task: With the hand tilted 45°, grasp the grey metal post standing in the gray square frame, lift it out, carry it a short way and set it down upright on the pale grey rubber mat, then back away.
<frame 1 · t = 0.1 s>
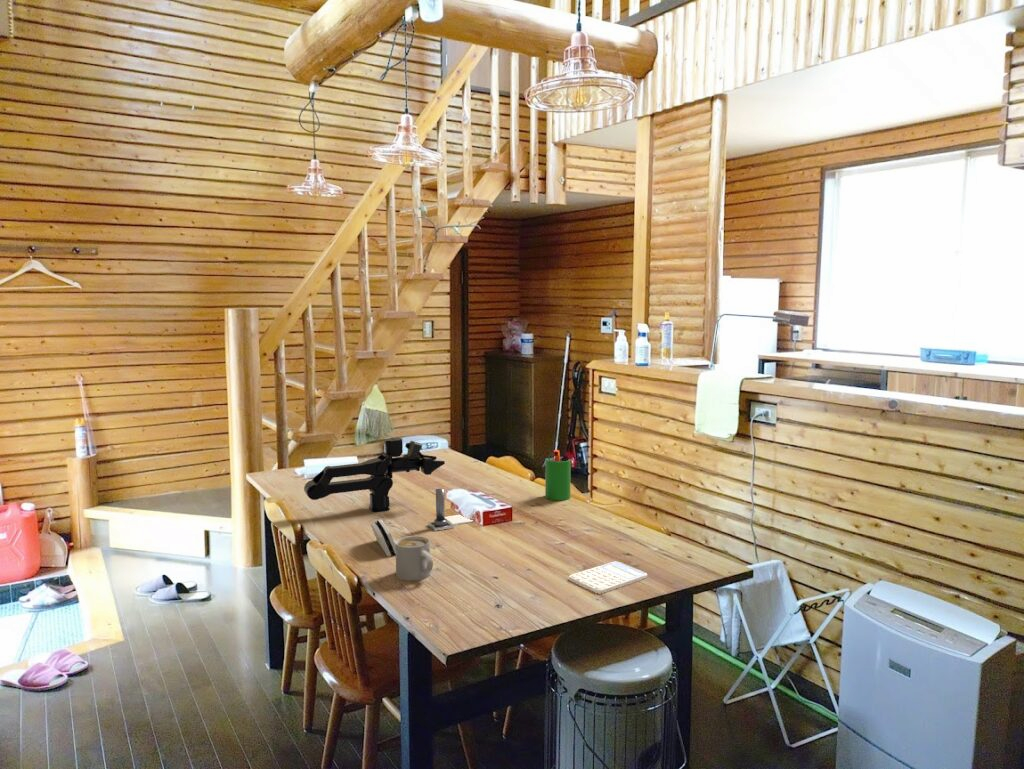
hand: (440, 460, 281), 17 cm above the table, tool horizontal, fingers open, 9 cm apart
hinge: (385, 548, 230), on the table
gray square frame: (440, 526, 251), on the table
coffee mug: (415, 576, 206), on the table
calculator: (608, 580, 204), on the table
grey metal post: (440, 508, 250), in the gray square frame
mat: (459, 519, 258), on the table
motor: (557, 498, 286), on the table
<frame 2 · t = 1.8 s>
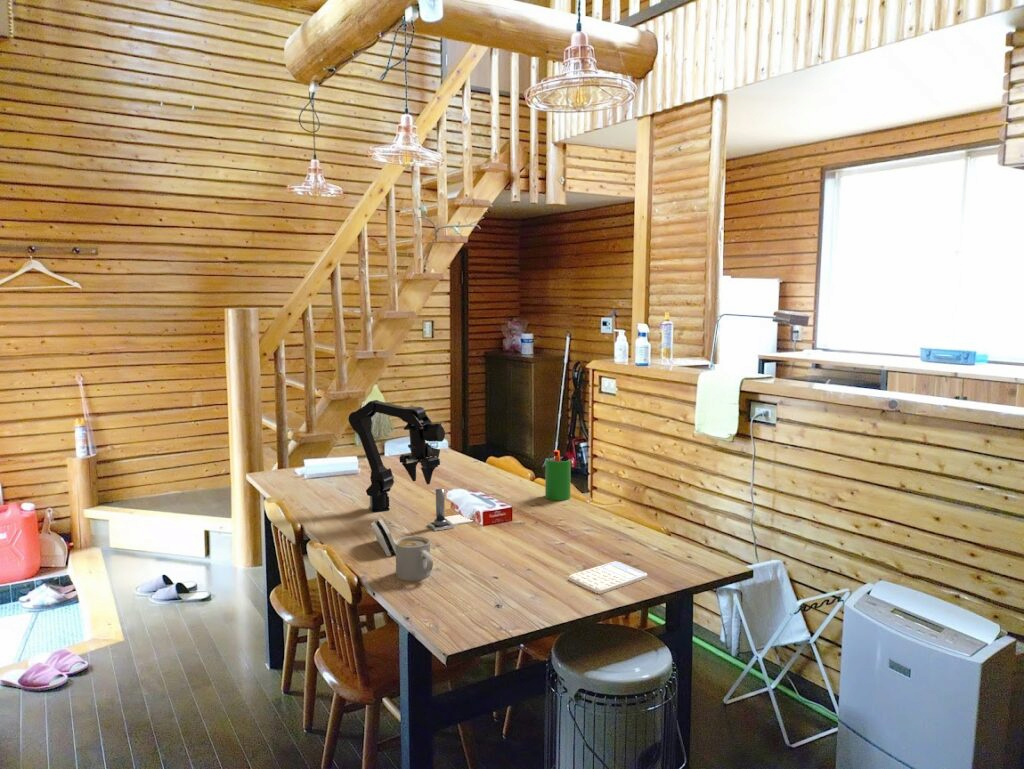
hand: (421, 482, 262), 12 cm above the table, tool pointing down, fingers open, 9 cm apart
nothing on the table moved.
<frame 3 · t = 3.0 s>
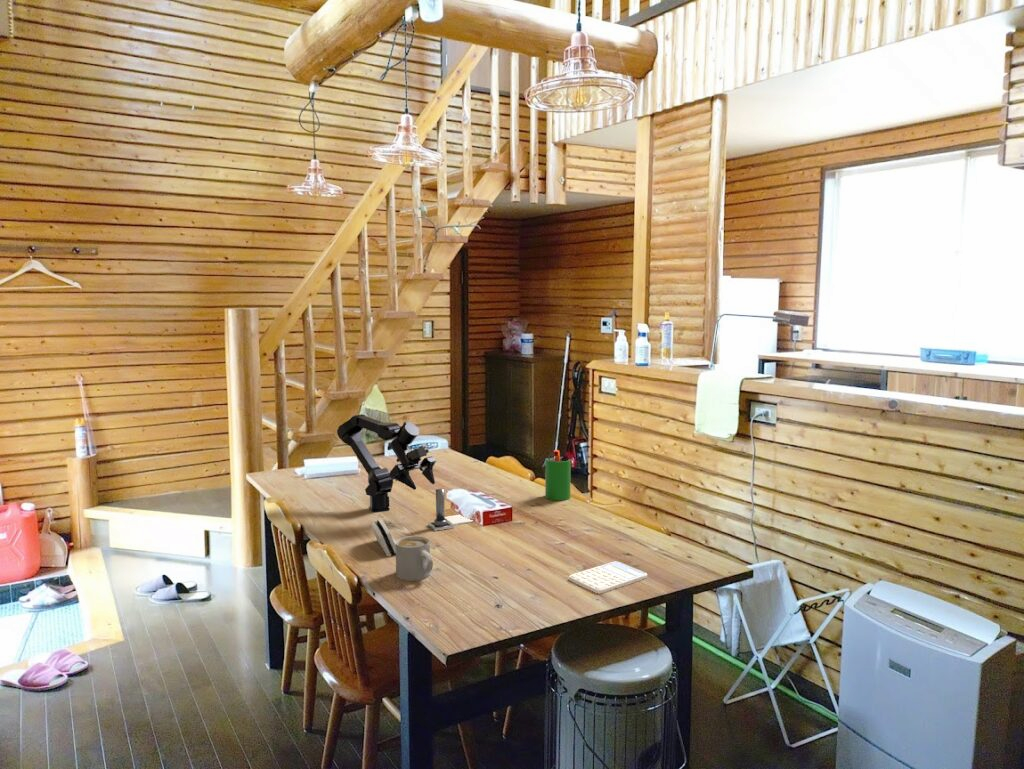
hand: (424, 486, 254), 13 cm above the table, tool tilted 45°, fingers open, 9 cm apart
nothing on the table moved.
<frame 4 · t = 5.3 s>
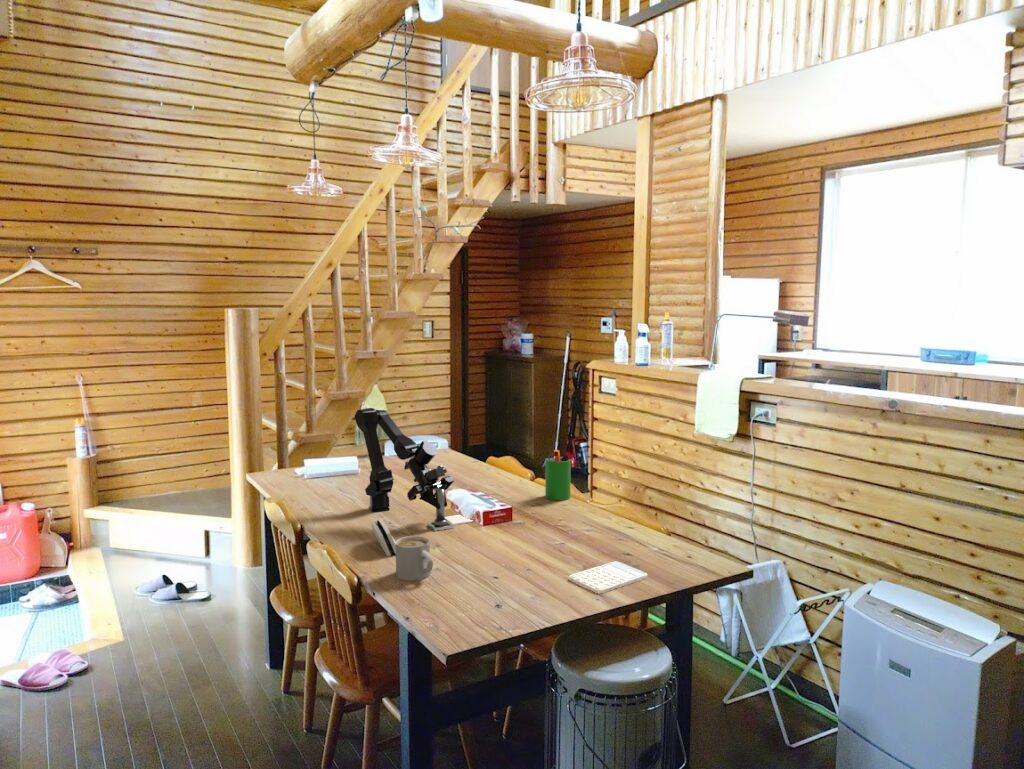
hand: (443, 507, 249), 7 cm above the table, tool tilted 45°, fingers closed on grey metal post, 3 cm apart
grey metal post: (440, 508, 250), in the gray square frame, touching gripper
everything else where it was.
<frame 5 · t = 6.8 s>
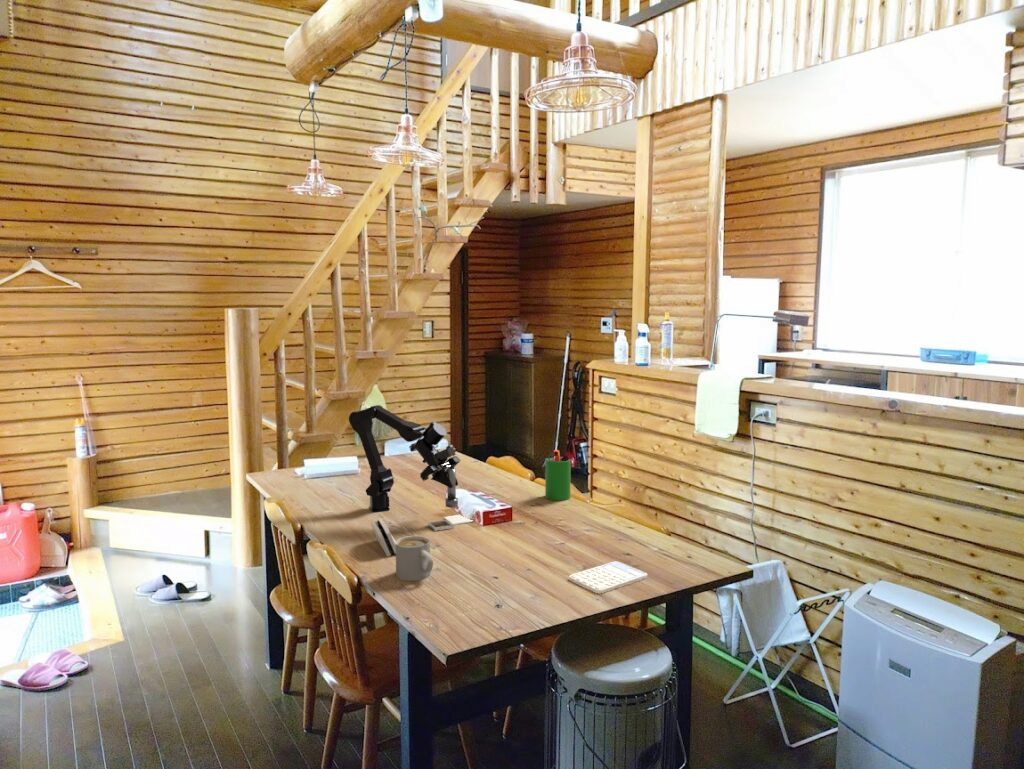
hand: (454, 486, 254), 13 cm above the table, tool tilted 45°, fingers closed on grey metal post, 3 cm apart
grey metal post: (451, 487, 254), point 13 cm above the table, touching gripper
everything else where it was.
when the fingers open (9 cm above the table, at t = 8.1 s): grey metal post stays where it is, resting on mat.
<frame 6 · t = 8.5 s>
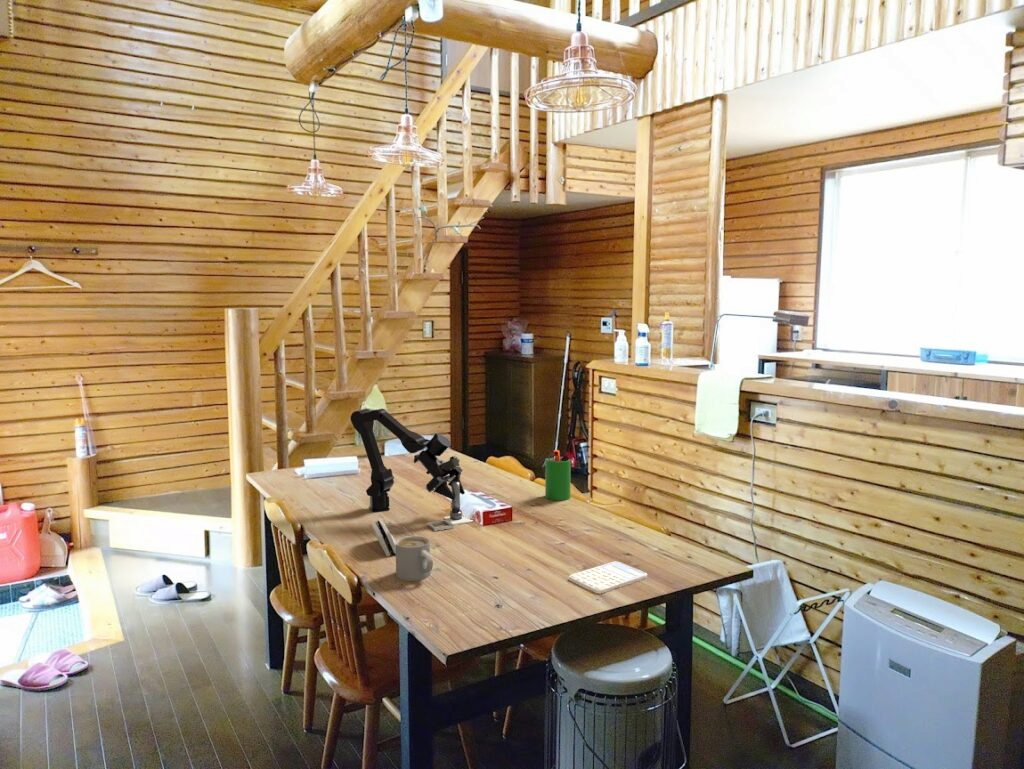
hand: (459, 496, 257), 9 cm above the table, tool tilted 45°, fingers open, 7 cm apart
grey metal post: (455, 500, 258), on the mat
everything else where it was.
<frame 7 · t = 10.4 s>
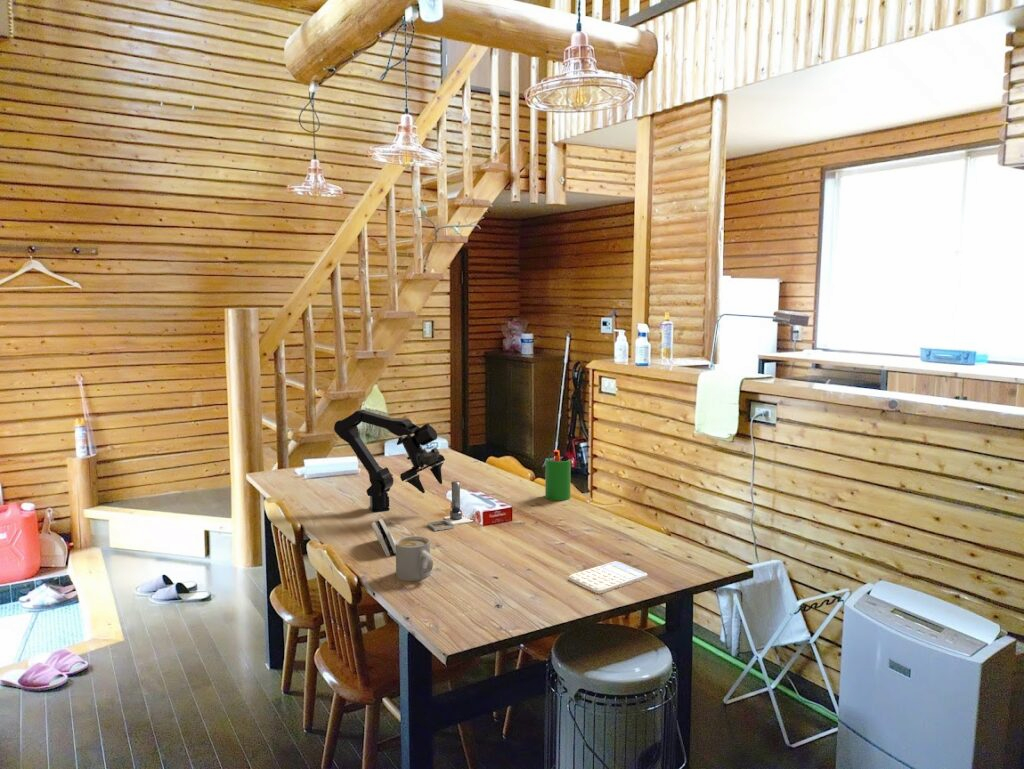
hand: (432, 488, 263), 10 cm above the table, tool tilted 30°, fingers open, 9 cm apart
nothing on the table moved.
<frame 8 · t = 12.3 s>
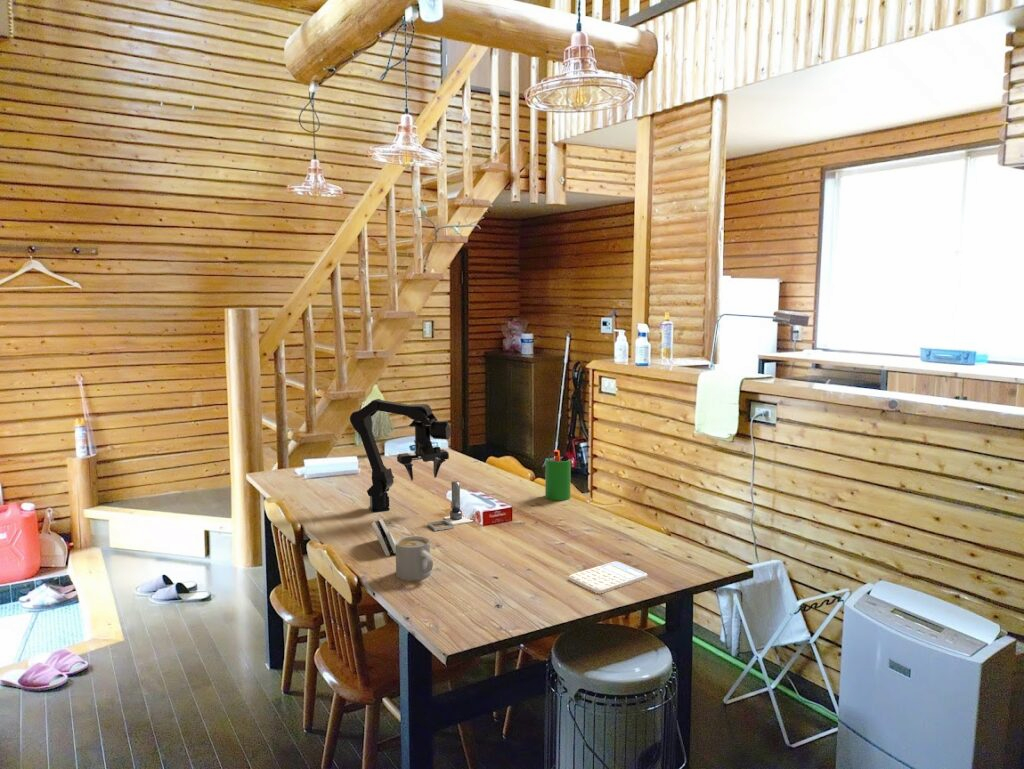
hand: (423, 479, 266), 13 cm above the table, tool pointing down, fingers open, 9 cm apart
nothing on the table moved.
at the end: grey metal post inside the target area on the mat (1.5 cm from its centre), point 7.3 cm above the mat's base; grey metal post tilted 0°; the gripper is holding nothing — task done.
